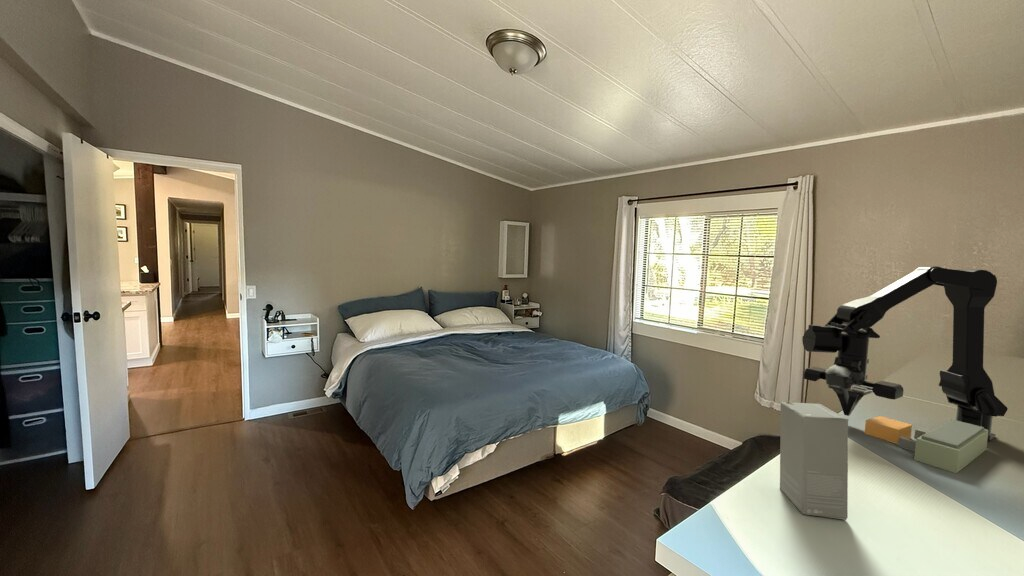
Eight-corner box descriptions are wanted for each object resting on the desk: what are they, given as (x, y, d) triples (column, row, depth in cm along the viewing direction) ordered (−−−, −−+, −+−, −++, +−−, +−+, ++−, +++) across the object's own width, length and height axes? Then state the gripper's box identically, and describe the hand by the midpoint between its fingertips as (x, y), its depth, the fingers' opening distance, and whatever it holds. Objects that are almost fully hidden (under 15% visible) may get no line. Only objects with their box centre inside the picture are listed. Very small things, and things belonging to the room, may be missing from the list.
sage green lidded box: (923, 432, 98) (925, 412, 98) (986, 449, 90) (988, 427, 89) (888, 451, 87) (891, 428, 87) (956, 473, 78) (959, 447, 78)
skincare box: (848, 522, 62) (857, 420, 61) (796, 515, 63) (803, 415, 62) (818, 491, 70) (825, 402, 69) (772, 486, 72) (779, 398, 71)
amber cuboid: (878, 429, 100) (879, 415, 100) (910, 439, 95) (912, 424, 94) (864, 434, 97) (865, 420, 96) (897, 444, 91) (898, 429, 91)
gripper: (794, 349, 105) (790, 408, 106) (888, 366, 89) (882, 435, 90) (815, 346, 111) (810, 401, 112) (907, 361, 95) (900, 426, 96)
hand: (847, 415), depth 102 cm, fingers closed
